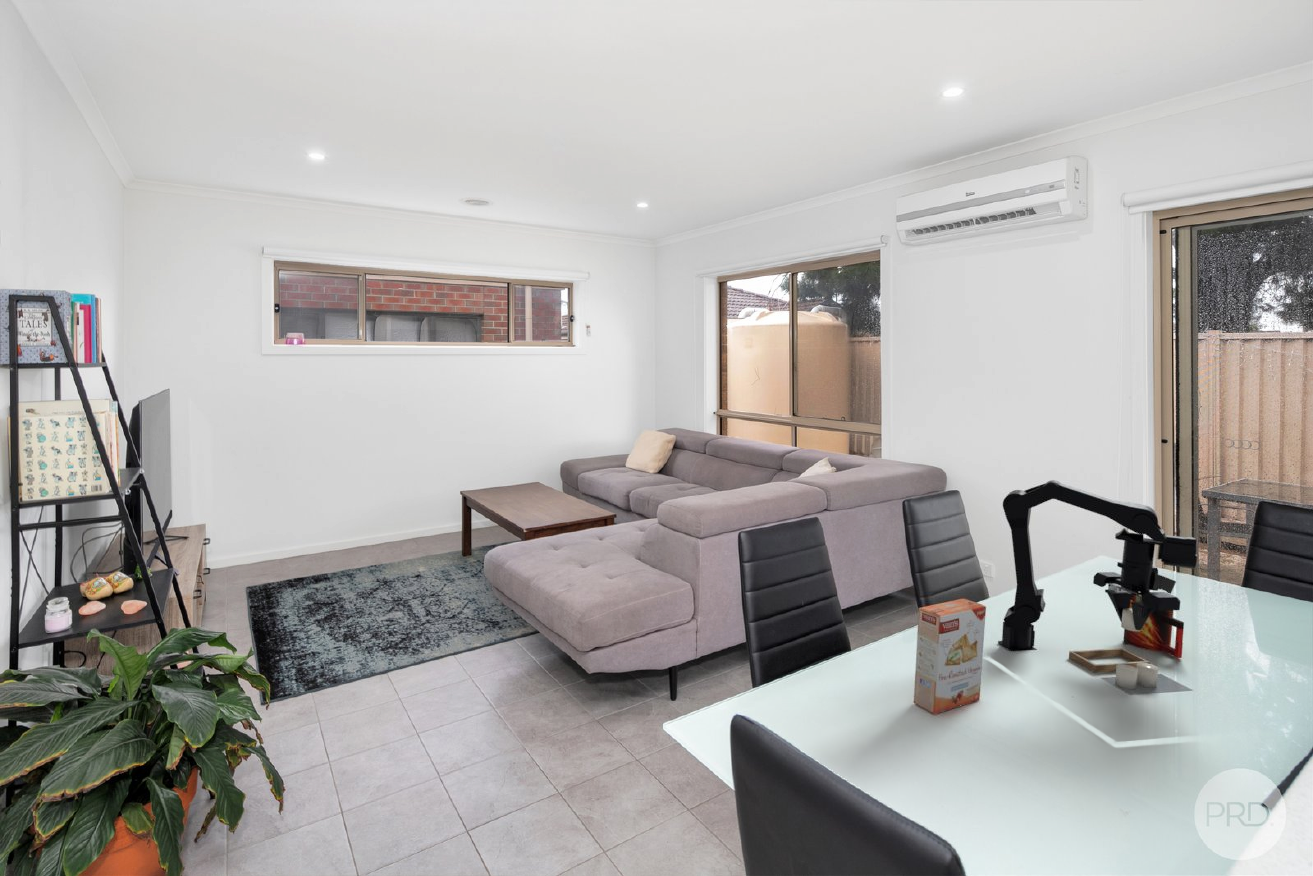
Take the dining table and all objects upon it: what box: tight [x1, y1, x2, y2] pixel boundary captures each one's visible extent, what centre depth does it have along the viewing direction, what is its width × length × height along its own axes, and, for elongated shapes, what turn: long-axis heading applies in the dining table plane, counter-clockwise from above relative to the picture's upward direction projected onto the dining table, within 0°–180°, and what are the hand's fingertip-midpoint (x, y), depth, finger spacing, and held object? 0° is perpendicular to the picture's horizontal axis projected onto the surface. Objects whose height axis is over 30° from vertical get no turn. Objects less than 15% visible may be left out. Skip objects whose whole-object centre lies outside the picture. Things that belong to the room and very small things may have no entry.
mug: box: [1122, 595, 1185, 659], centre depth 170 cm, size 10×14×12 cm
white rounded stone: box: [1115, 664, 1138, 689], centre depth 149 cm, size 4×4×4 cm
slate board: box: [1101, 673, 1193, 696], centre depth 150 cm, size 15×8×1 cm, turn 98°
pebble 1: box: [1120, 608, 1141, 631], centre depth 157 cm, size 4×4×4 cm
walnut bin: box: [1068, 647, 1151, 674], centre depth 160 cm, size 14×8×2 cm, turn 98°
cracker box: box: [913, 597, 987, 715], centre depth 142 cm, size 14×6×21 cm, turn 117°
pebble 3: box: [1137, 663, 1159, 688], centre depth 149 cm, size 4×4×4 cm
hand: (1130, 626), depth 157 cm, fingers closed on pebble 1, 4 cm apart
